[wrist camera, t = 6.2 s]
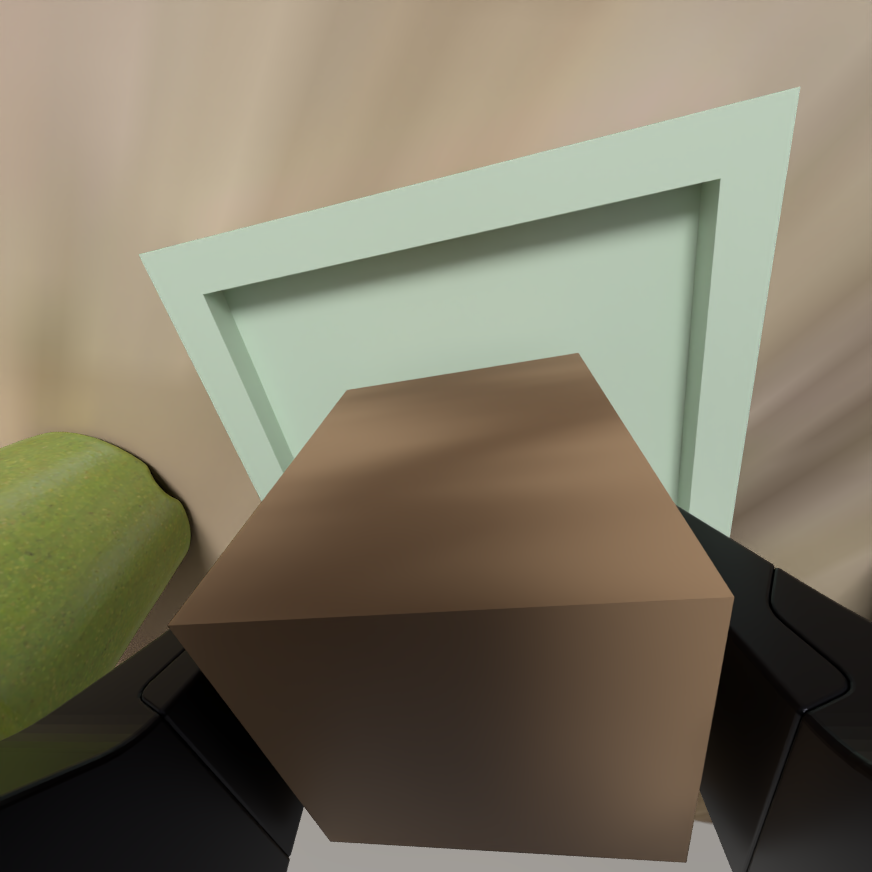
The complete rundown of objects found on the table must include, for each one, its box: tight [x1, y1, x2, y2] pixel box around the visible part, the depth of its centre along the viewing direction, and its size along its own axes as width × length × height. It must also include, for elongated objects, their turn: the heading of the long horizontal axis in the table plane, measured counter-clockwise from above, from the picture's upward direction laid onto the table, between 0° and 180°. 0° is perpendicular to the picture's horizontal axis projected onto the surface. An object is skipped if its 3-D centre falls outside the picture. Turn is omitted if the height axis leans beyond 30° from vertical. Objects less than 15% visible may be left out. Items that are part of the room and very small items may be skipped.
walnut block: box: [167, 353, 734, 863], centre depth 7 cm, size 5×5×6 cm
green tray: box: [139, 87, 800, 538], centre depth 11 cm, size 12×12×2 cm
